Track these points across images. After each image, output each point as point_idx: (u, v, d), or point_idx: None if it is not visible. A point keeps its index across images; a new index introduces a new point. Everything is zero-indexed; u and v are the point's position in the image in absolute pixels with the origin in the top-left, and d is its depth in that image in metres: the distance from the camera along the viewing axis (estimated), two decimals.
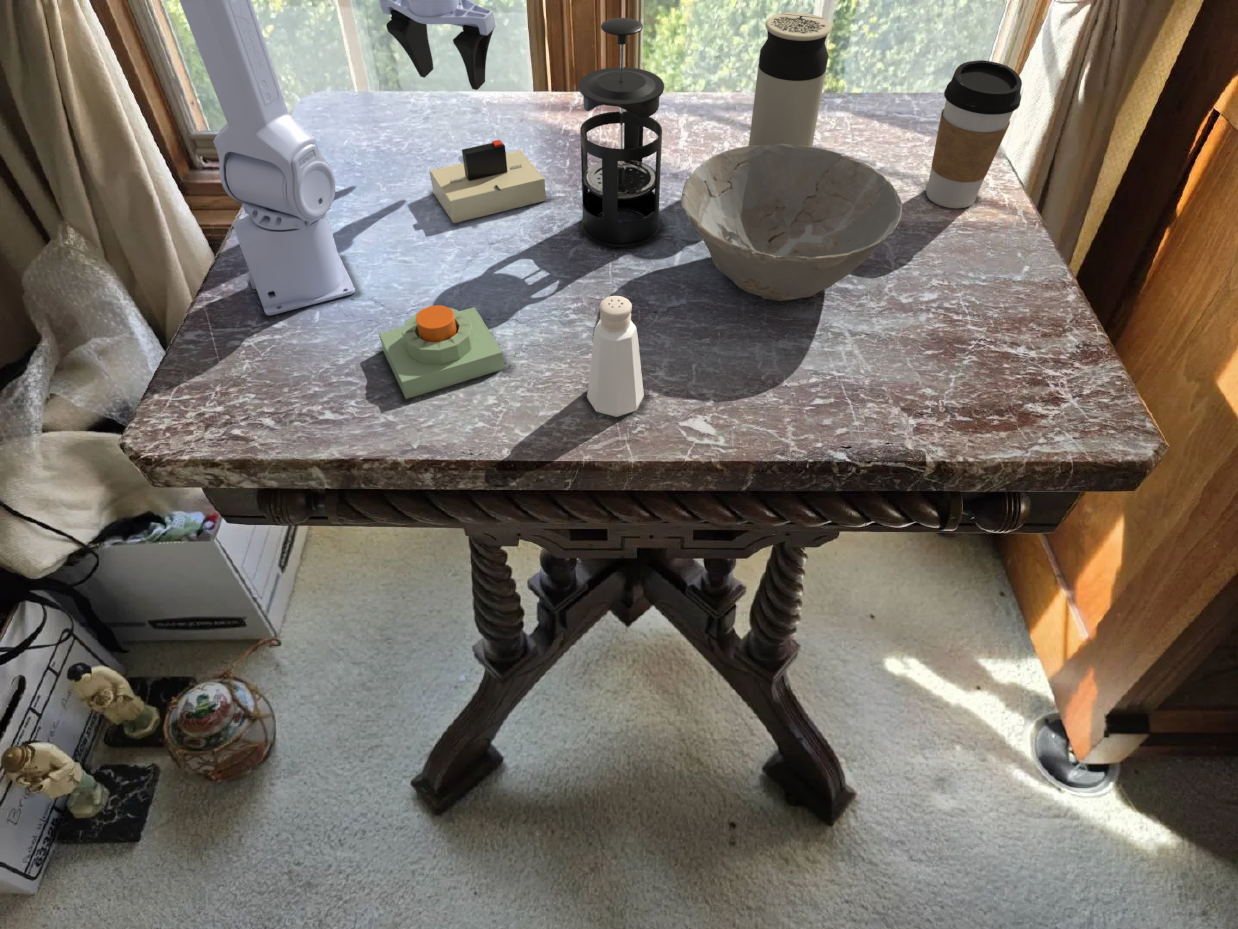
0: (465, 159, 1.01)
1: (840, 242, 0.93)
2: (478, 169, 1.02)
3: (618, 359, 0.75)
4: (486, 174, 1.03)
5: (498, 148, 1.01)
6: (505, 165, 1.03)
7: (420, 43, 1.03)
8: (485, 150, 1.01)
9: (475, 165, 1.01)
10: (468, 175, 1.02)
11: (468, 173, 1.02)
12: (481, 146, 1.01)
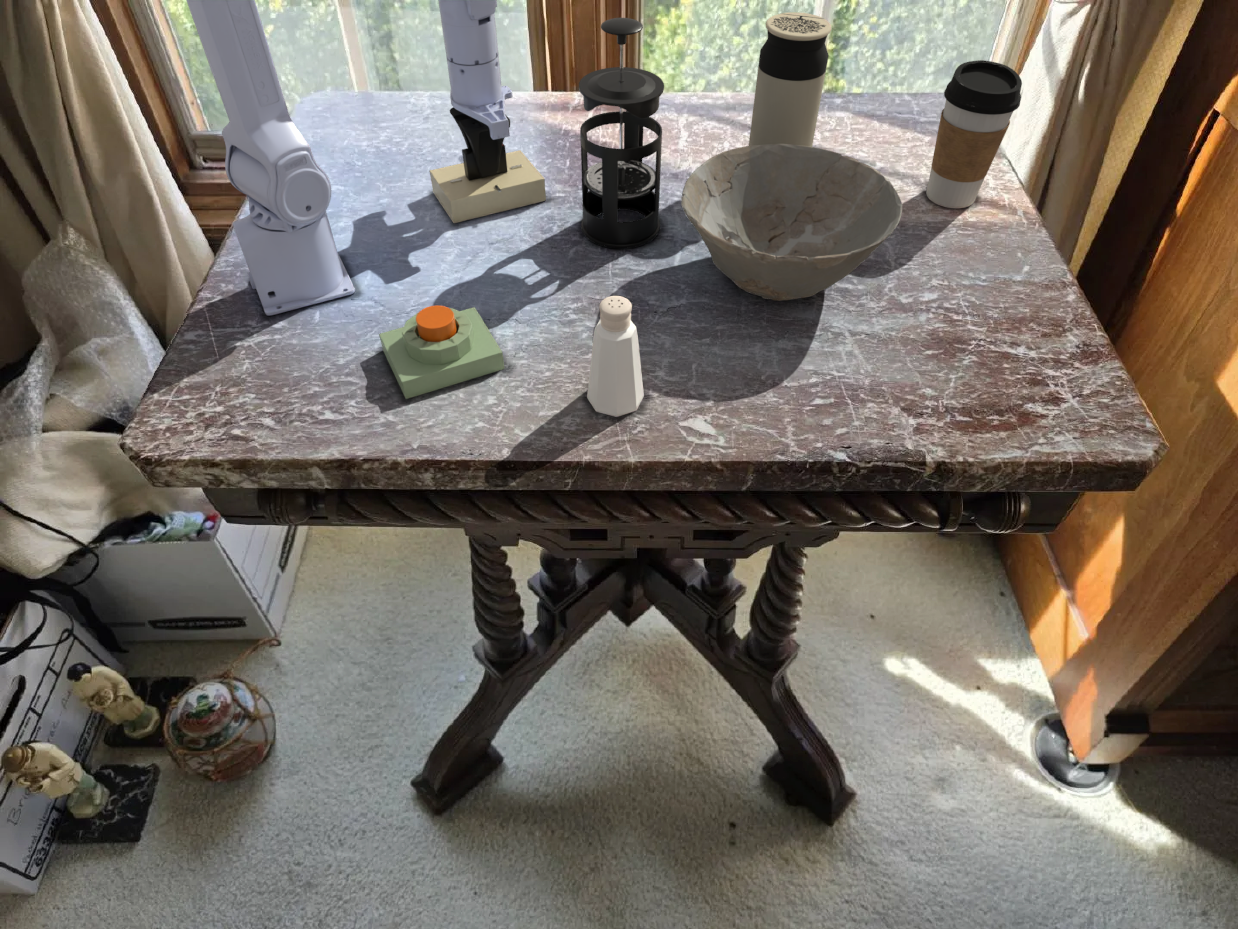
0: (465, 159, 1.01)
1: (840, 242, 0.93)
2: None
3: (618, 359, 0.75)
4: None
5: None
6: (505, 165, 1.03)
7: None
8: None
9: (475, 165, 1.01)
10: (468, 175, 1.02)
11: (468, 173, 1.02)
12: None
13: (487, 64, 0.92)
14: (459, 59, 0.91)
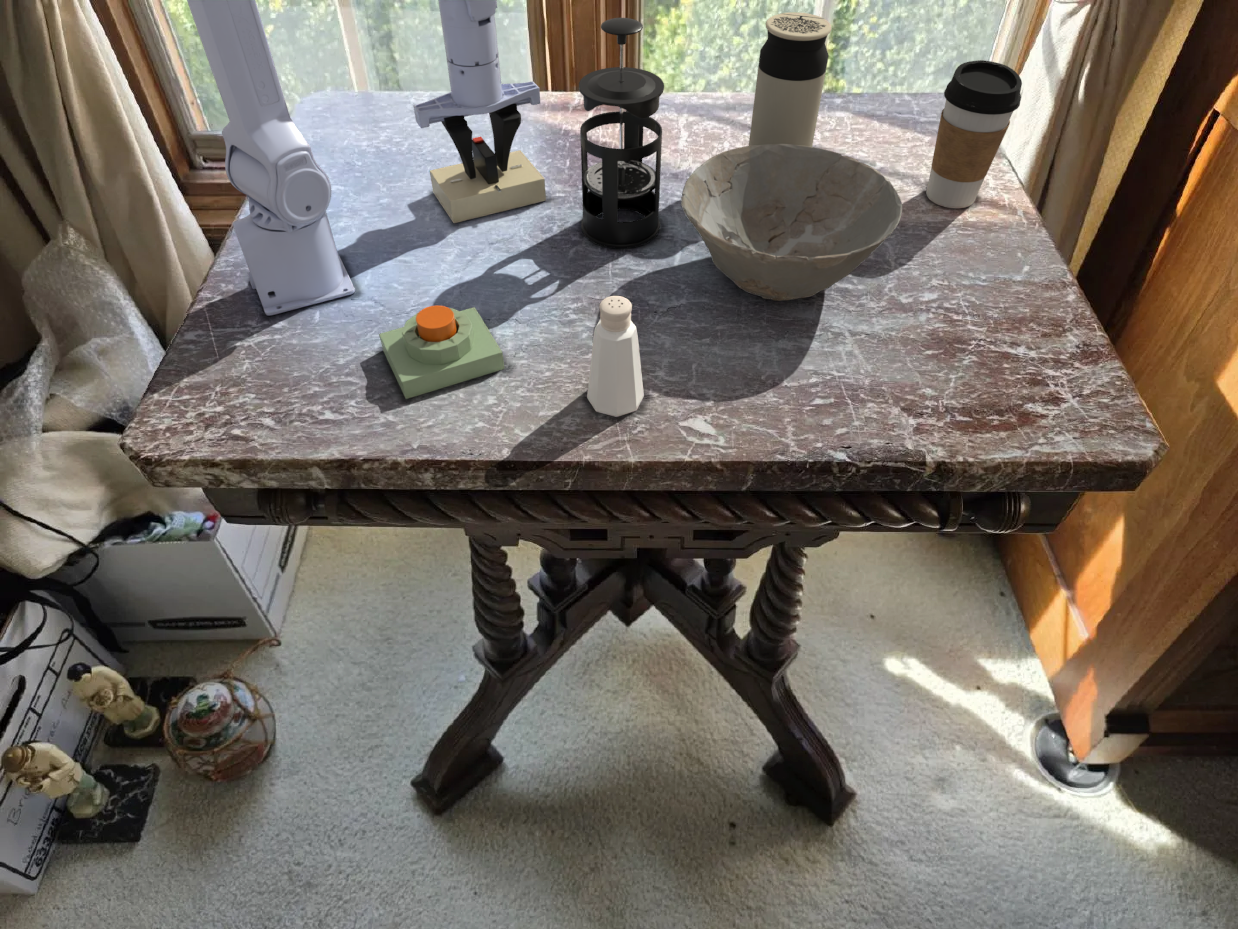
0: (494, 162, 1.00)
1: (840, 242, 0.93)
2: None
3: (618, 359, 0.75)
4: None
5: (484, 141, 1.02)
6: None
7: None
8: (488, 146, 1.01)
9: None
10: (497, 177, 1.02)
11: (497, 174, 1.01)
12: (481, 148, 1.01)
13: None
14: (459, 60, 0.91)
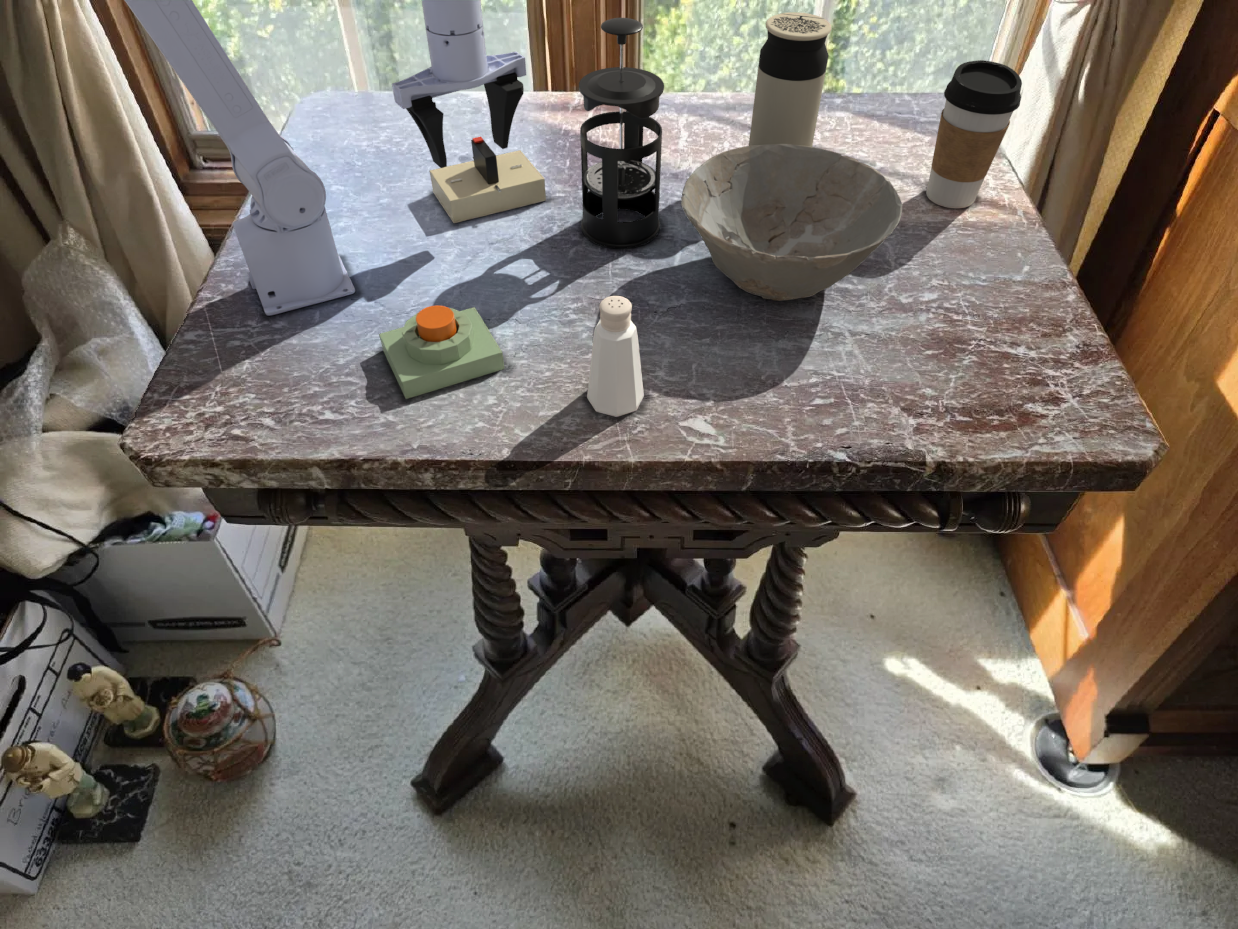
0: (494, 162, 1.00)
1: (840, 242, 0.93)
2: None
3: (618, 359, 0.75)
4: None
5: (484, 141, 1.02)
6: None
7: None
8: (488, 146, 1.01)
9: None
10: (497, 177, 1.02)
11: (497, 174, 1.01)
12: (481, 148, 1.01)
13: None
14: (434, 27, 0.82)
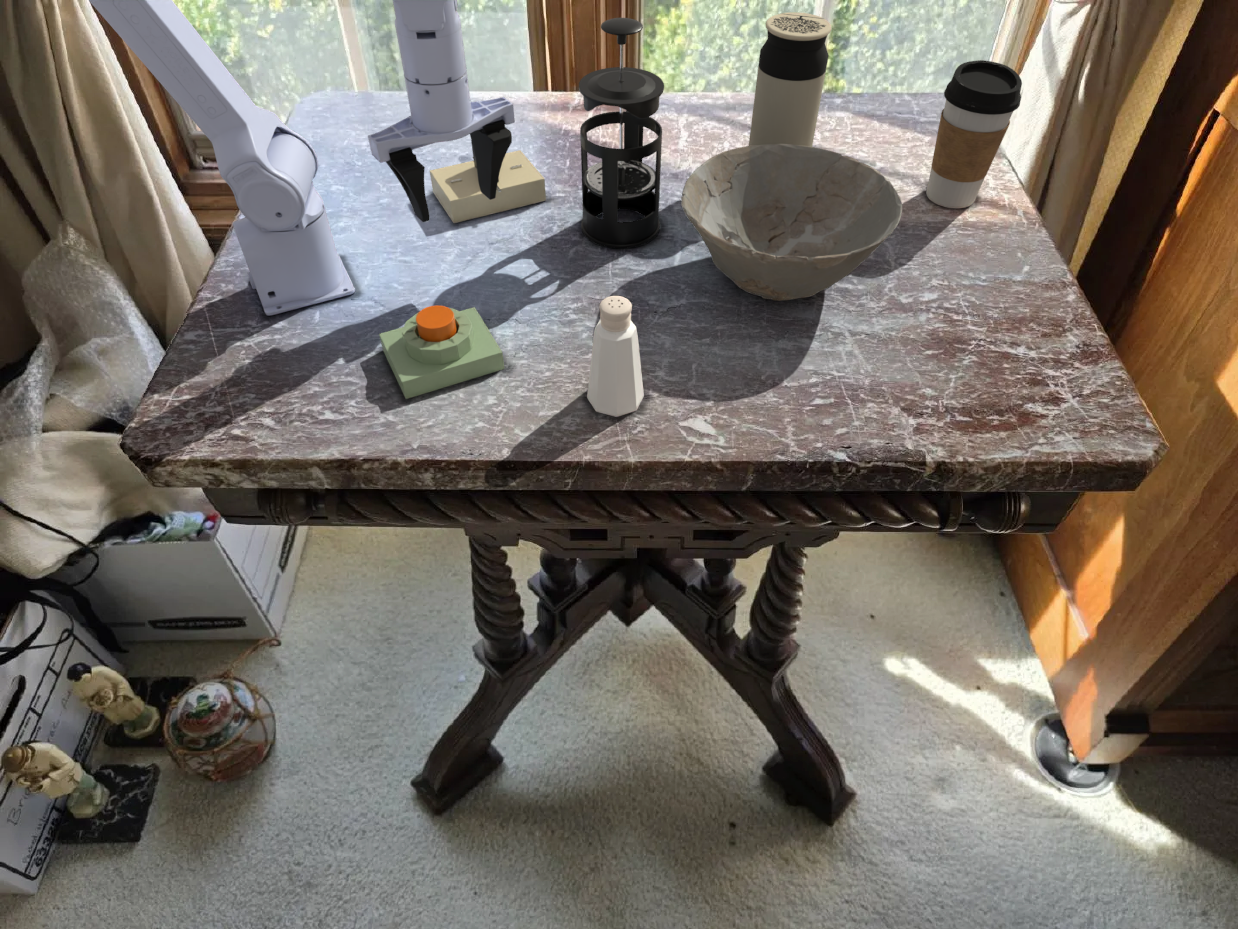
0: None
1: (840, 242, 0.93)
2: None
3: (618, 359, 0.75)
4: None
5: None
6: None
7: None
8: None
9: None
10: None
11: None
12: None
13: None
14: (404, 71, 0.76)
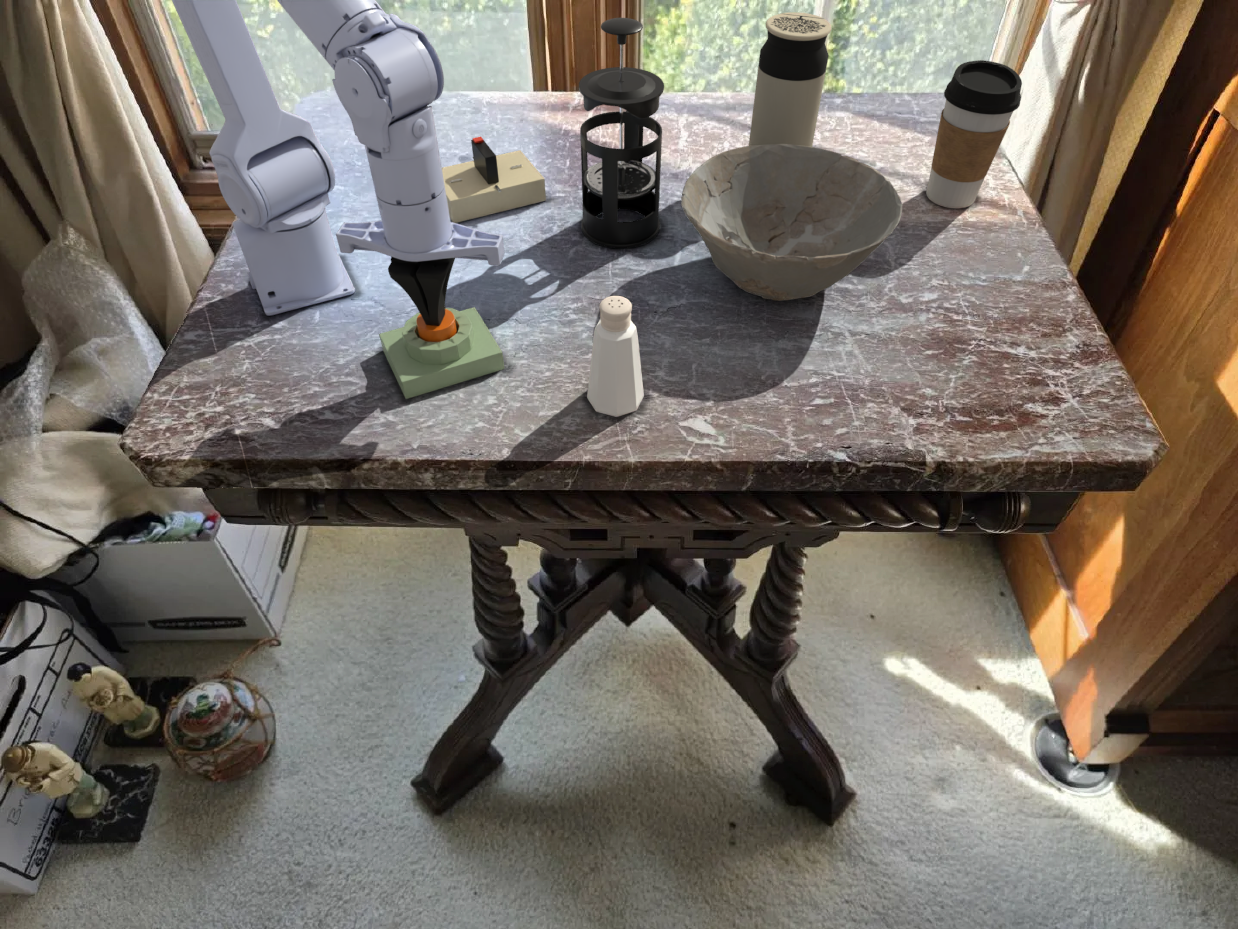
0: (494, 162, 1.00)
1: (840, 242, 0.93)
2: None
3: (618, 359, 0.75)
4: None
5: (484, 141, 1.02)
6: None
7: None
8: (488, 146, 1.01)
9: None
10: (497, 177, 1.02)
11: (497, 174, 1.01)
12: (481, 148, 1.01)
13: (444, 187, 0.71)
14: None
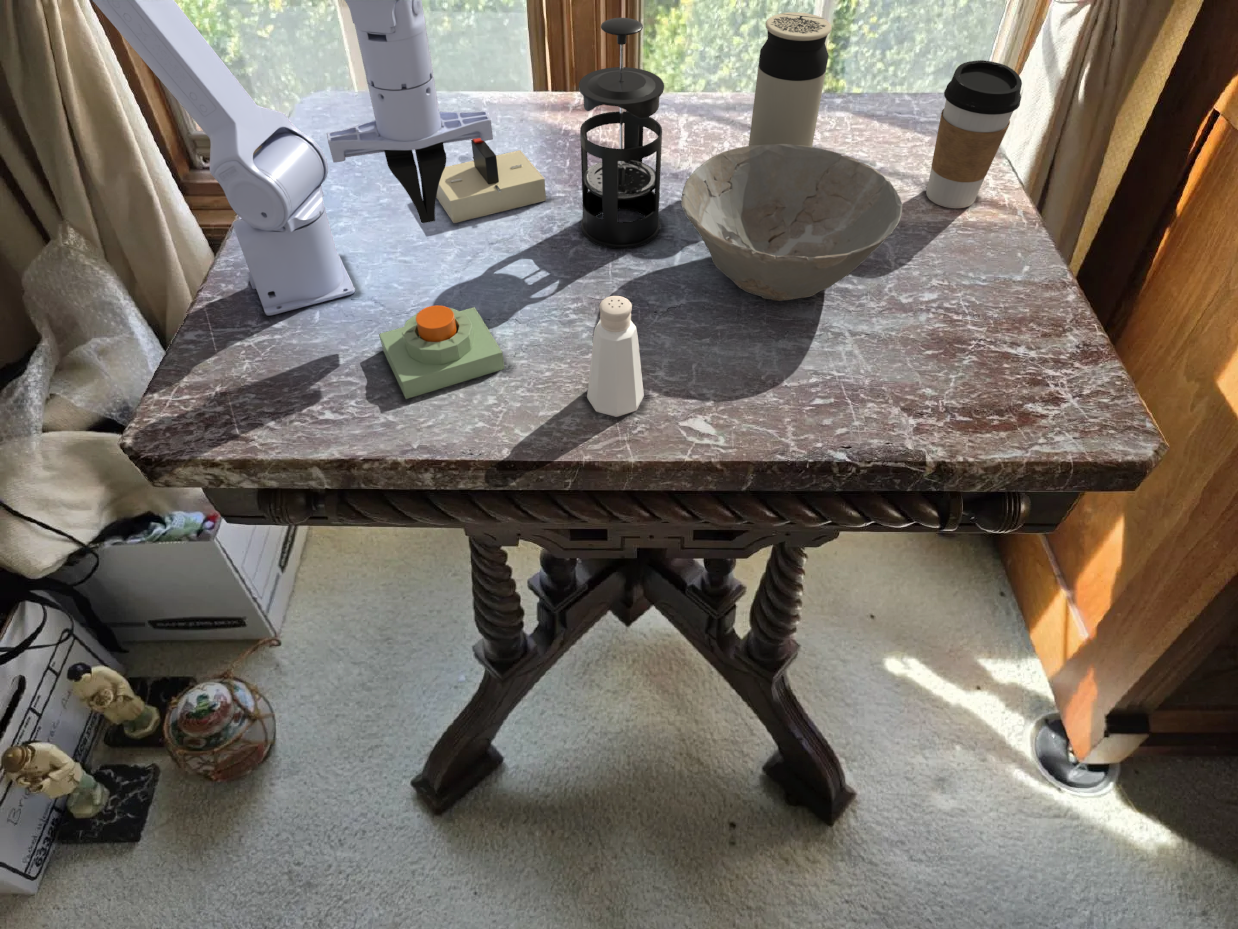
0: (494, 162, 1.00)
1: (840, 242, 0.93)
2: None
3: (618, 359, 0.75)
4: None
5: (484, 141, 1.02)
6: None
7: None
8: (488, 146, 1.01)
9: None
10: (497, 177, 1.02)
11: (497, 174, 1.01)
12: (481, 148, 1.01)
13: None
14: None
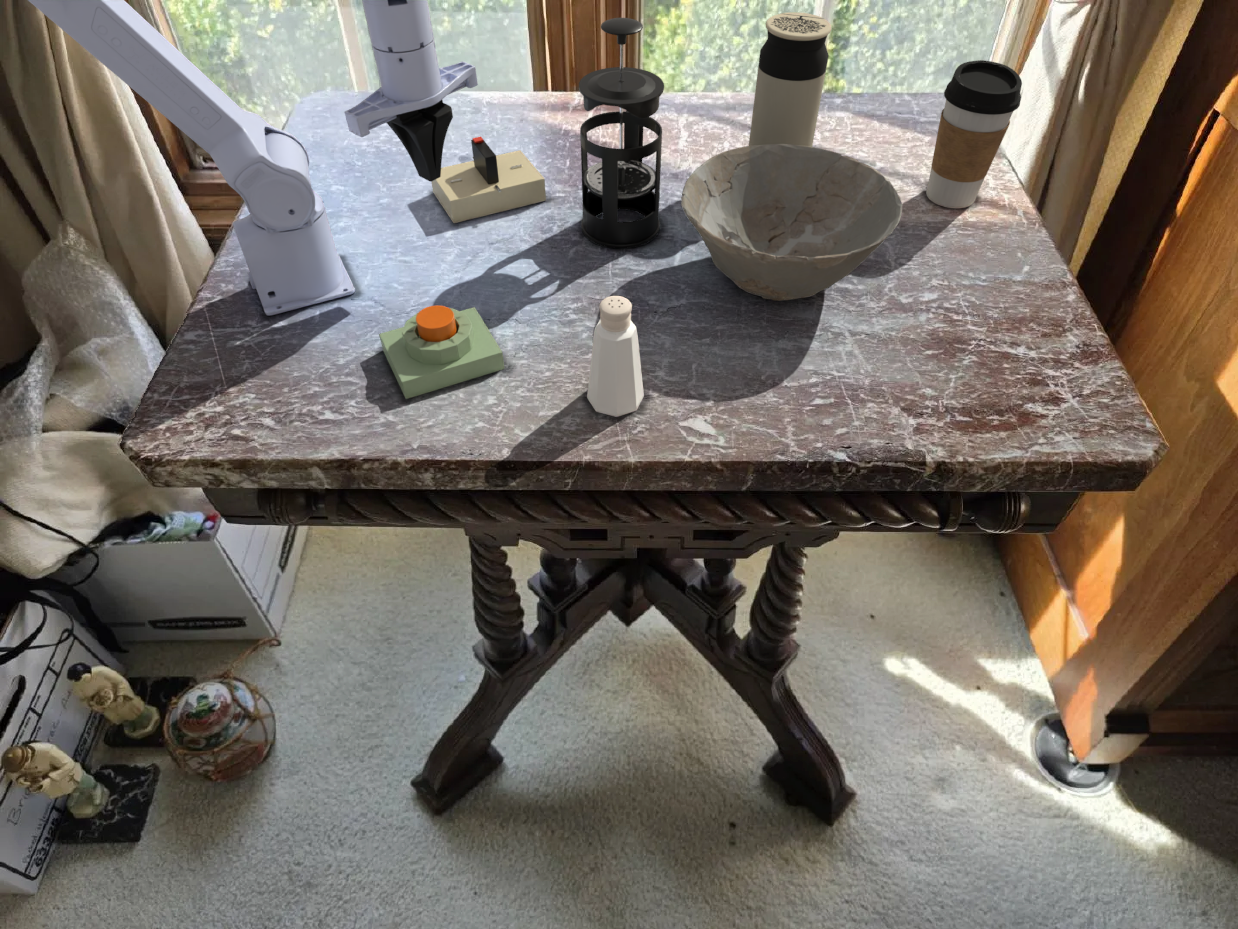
0: (494, 162, 1.00)
1: (840, 242, 0.93)
2: None
3: (618, 359, 0.75)
4: None
5: (484, 141, 1.02)
6: None
7: None
8: (488, 146, 1.01)
9: None
10: (497, 177, 1.02)
11: (497, 174, 1.01)
12: (481, 148, 1.01)
13: None
14: (374, 42, 0.77)
